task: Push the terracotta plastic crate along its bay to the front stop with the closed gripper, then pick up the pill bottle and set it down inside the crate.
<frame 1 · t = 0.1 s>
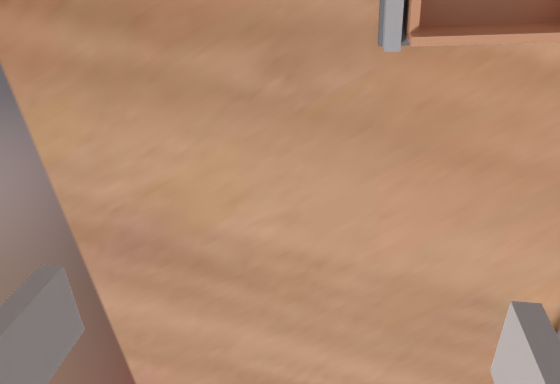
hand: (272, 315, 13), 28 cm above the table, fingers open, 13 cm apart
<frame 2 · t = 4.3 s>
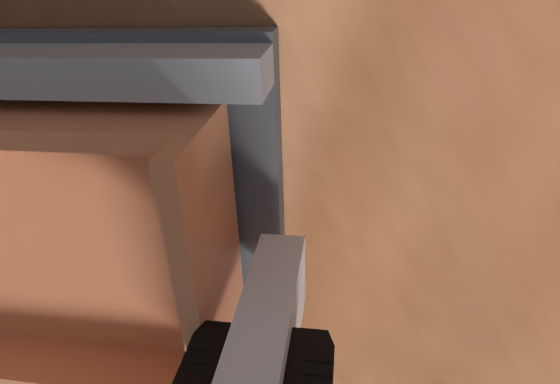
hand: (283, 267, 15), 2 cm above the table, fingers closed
crate: (13, 270, 16), point 4 cm above the table, slide at 0.6 cm, touching gripper
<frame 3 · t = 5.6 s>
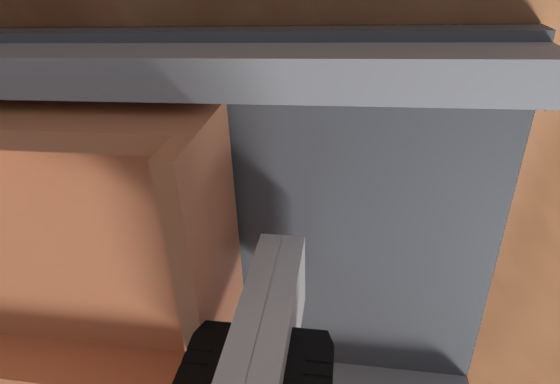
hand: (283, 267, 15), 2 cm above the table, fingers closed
crate: (13, 270, 16), point 4 cm above the table, slide at 8.1 cm, touching gripper
bay: (105, 218, 18), on the table
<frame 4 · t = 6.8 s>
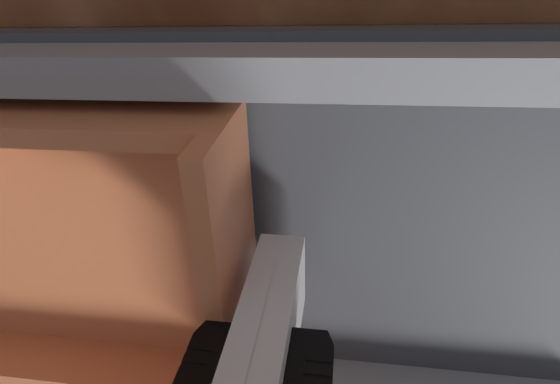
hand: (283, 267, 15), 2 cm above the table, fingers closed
crate: (31, 269, 16), point 4 cm above the table, slide at 12.0 cm, touching gripper
bay: (211, 223, 18), on the table
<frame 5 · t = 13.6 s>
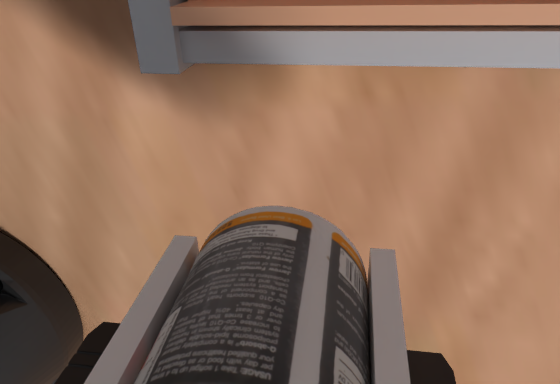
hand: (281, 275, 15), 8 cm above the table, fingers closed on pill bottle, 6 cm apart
pill bottle: (285, 265, 16), point 8 cm above the table, touching gripper
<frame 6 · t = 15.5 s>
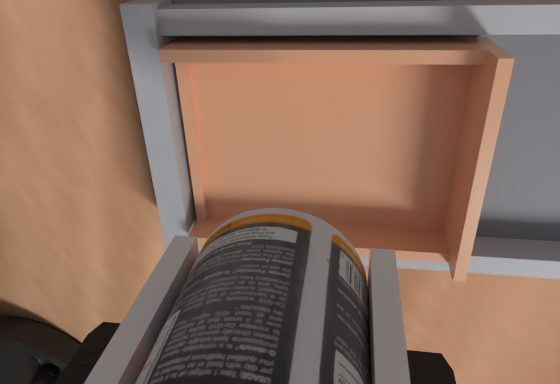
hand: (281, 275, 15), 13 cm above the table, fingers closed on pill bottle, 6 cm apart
pill bottle: (284, 267, 16), point 13 cm above the table, touching gripper
crate: (320, 158, 23), point 4 cm above the table, slide at 12.0 cm
bay: (421, 135, 25), on the table
when the fingers open (3 cm above the table, at t = 17.4 s): pill bottle stays where it is, resting on crate.
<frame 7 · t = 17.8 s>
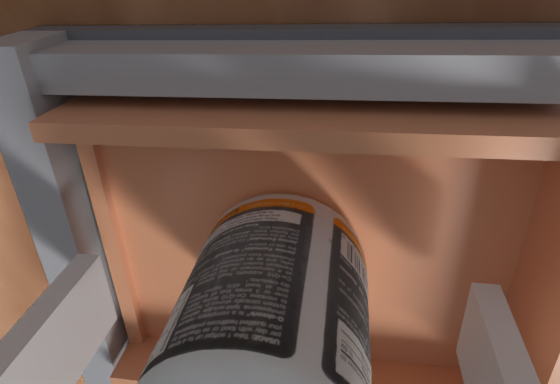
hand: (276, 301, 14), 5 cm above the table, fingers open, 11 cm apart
pill bottle: (288, 251, 16), point 2 cm above the table, touching crate
crate: (302, 281, 15), point 4 cm above the table, slide at 12.0 cm, touching pill bottle
bay: (456, 231, 17), on the table
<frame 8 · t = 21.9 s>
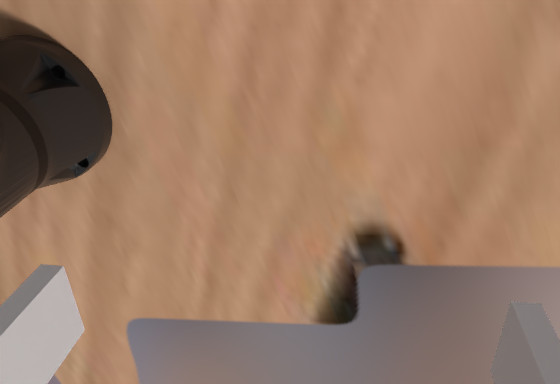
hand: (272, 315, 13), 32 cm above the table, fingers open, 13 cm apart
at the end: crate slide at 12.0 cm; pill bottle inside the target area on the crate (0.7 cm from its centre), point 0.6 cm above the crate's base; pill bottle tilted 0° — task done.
